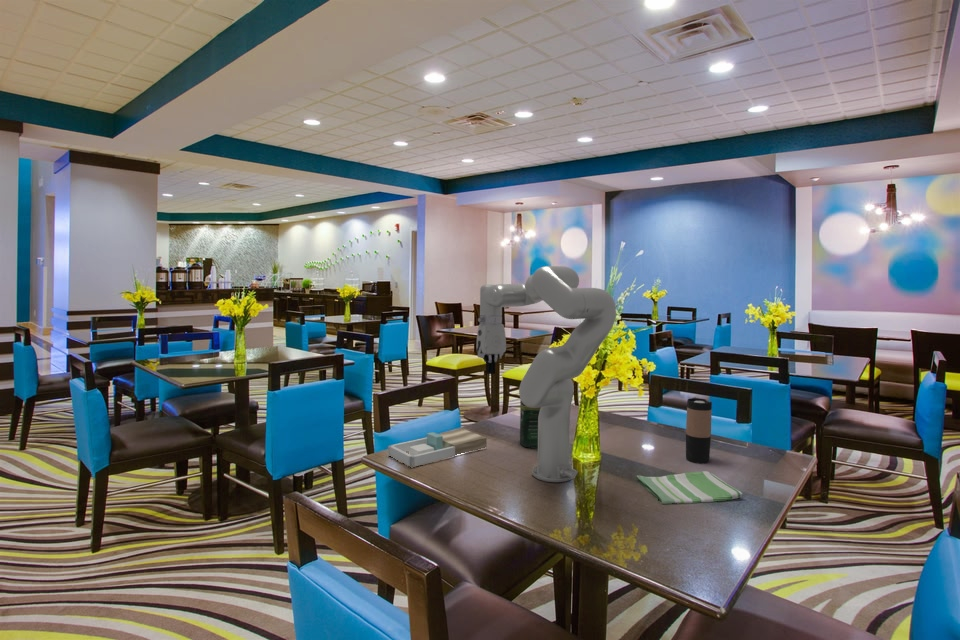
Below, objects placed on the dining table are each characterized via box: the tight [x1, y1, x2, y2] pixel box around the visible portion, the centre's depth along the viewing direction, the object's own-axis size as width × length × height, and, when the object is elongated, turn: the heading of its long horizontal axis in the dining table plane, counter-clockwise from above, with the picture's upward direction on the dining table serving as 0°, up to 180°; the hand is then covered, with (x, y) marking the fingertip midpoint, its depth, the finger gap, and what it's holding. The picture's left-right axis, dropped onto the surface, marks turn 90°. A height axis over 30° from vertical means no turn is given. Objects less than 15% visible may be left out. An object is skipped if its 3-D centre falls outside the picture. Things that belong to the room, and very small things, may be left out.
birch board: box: [439, 428, 488, 455], centre depth 185 cm, size 14×14×4 cm
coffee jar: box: [519, 399, 541, 449], centre depth 189 cm, size 10×8×19 cm
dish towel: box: [636, 470, 743, 505], centre depth 148 cm, size 18×23×3 cm
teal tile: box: [426, 431, 443, 451], centre depth 179 cm, size 6×6×2 cm
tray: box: [387, 436, 455, 467], centre depth 175 cm, size 15×17×4 cm
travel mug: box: [685, 397, 713, 465], centre depth 173 cm, size 8×8×20 cm
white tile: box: [409, 444, 434, 456], centre depth 176 cm, size 6×6×2 cm
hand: (490, 373), depth 180 cm, fingers closed
